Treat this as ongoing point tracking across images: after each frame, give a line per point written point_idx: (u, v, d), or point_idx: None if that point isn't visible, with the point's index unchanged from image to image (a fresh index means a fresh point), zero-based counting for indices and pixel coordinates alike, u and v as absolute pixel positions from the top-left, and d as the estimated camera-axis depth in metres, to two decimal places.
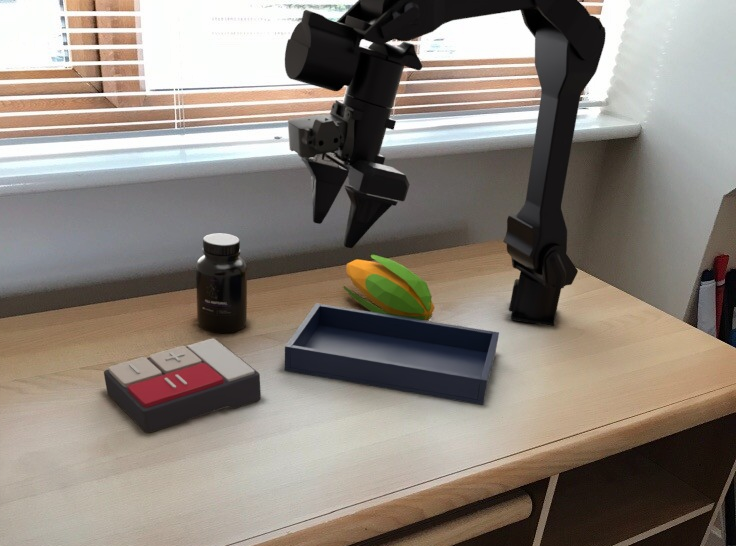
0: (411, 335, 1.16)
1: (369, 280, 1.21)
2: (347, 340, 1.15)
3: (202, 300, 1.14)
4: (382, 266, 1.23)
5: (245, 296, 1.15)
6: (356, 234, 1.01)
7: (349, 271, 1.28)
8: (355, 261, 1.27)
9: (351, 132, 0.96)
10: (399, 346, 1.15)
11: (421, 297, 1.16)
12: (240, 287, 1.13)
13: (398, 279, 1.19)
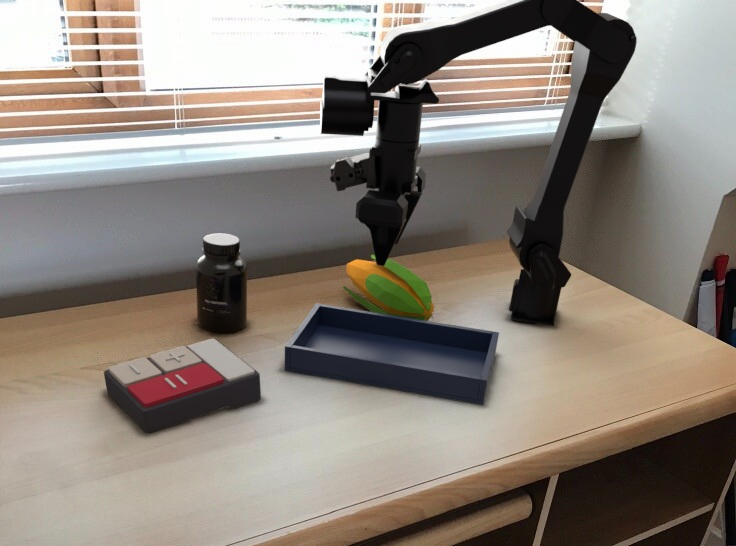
0: (411, 335, 1.16)
1: (369, 280, 1.21)
2: (347, 340, 1.15)
3: (202, 300, 1.14)
4: (382, 266, 1.23)
5: (245, 296, 1.15)
6: (382, 254, 1.15)
7: (349, 271, 1.28)
8: (355, 261, 1.27)
9: (372, 166, 1.11)
10: (399, 346, 1.15)
11: (421, 297, 1.16)
12: (240, 287, 1.13)
13: (398, 279, 1.19)
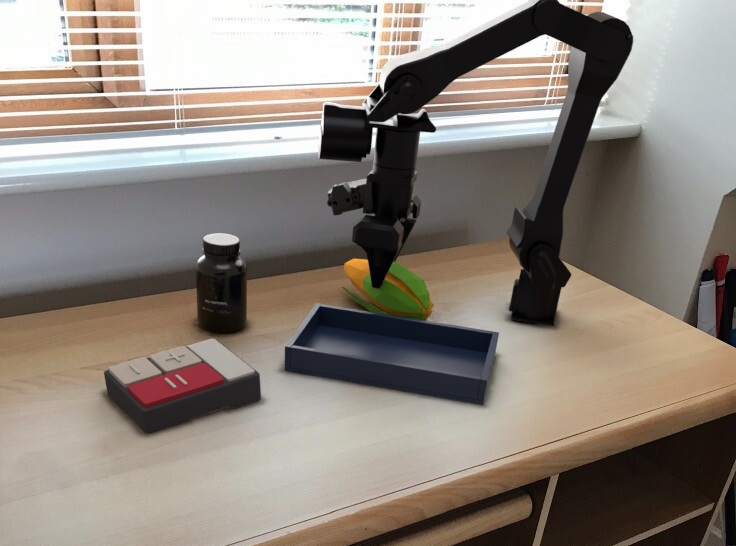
0: (411, 335, 1.16)
1: (366, 281, 1.21)
2: (347, 340, 1.15)
3: (202, 300, 1.14)
4: None
5: (245, 296, 1.15)
6: (377, 276, 1.17)
7: (347, 271, 1.27)
8: (352, 260, 1.27)
9: (368, 192, 1.13)
10: (399, 346, 1.15)
11: (419, 296, 1.16)
12: (240, 287, 1.13)
13: (395, 279, 1.19)
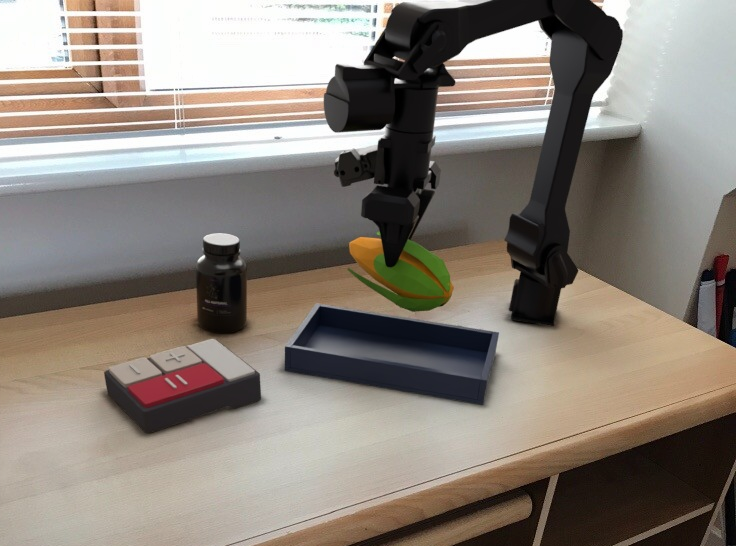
0: (411, 335, 1.16)
1: (378, 261, 1.08)
2: (347, 340, 1.15)
3: (202, 300, 1.14)
4: None
5: (245, 296, 1.15)
6: (392, 254, 1.05)
7: (352, 251, 1.15)
8: (359, 239, 1.14)
9: (380, 160, 1.00)
10: (399, 346, 1.15)
11: (439, 277, 1.04)
12: (240, 287, 1.13)
13: (411, 258, 1.07)
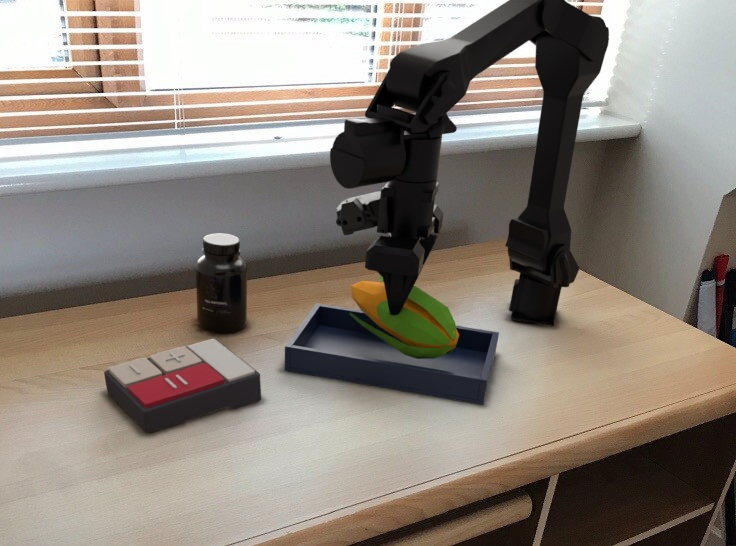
0: None
1: (381, 308, 1.06)
2: (347, 340, 1.15)
3: (202, 300, 1.14)
4: None
5: (245, 296, 1.15)
6: (396, 303, 1.03)
7: (354, 296, 1.13)
8: (360, 283, 1.12)
9: (383, 209, 0.98)
10: None
11: (444, 326, 1.02)
12: (240, 287, 1.13)
13: (415, 306, 1.05)
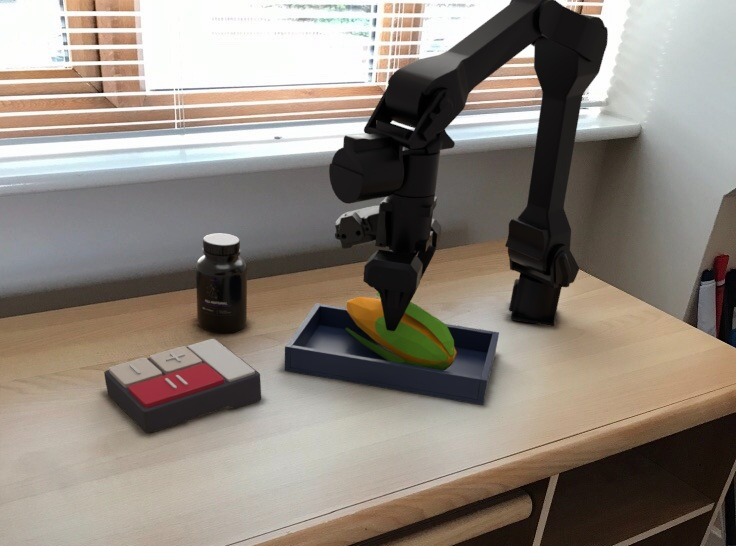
0: None
1: (380, 323, 1.08)
2: (347, 340, 1.15)
3: (202, 300, 1.14)
4: None
5: (245, 296, 1.15)
6: (392, 318, 1.03)
7: (351, 311, 1.14)
8: (357, 299, 1.14)
9: (382, 223, 0.99)
10: None
11: (443, 342, 1.04)
12: (240, 287, 1.13)
13: (414, 322, 1.06)
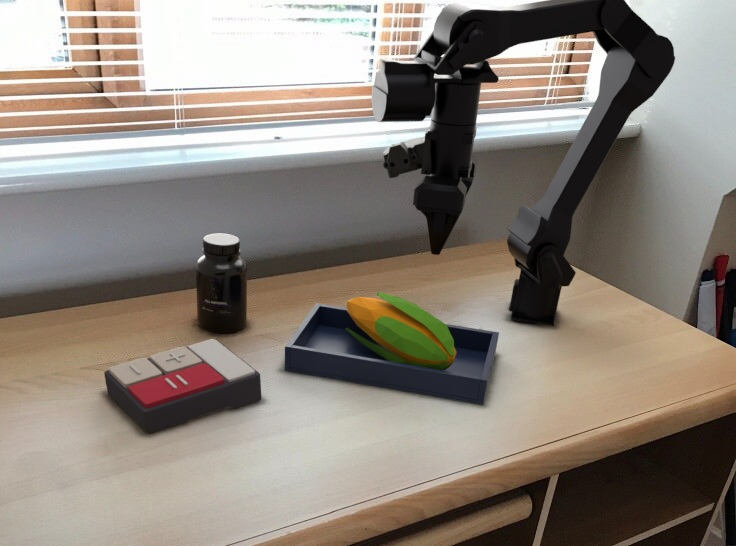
0: None
1: (380, 323, 1.08)
2: (347, 340, 1.15)
3: (202, 300, 1.14)
4: (391, 305, 1.10)
5: (245, 296, 1.15)
6: (437, 242, 1.11)
7: (351, 311, 1.14)
8: (357, 299, 1.14)
9: (427, 151, 1.07)
10: None
11: (443, 342, 1.04)
12: (240, 287, 1.13)
13: (414, 322, 1.06)
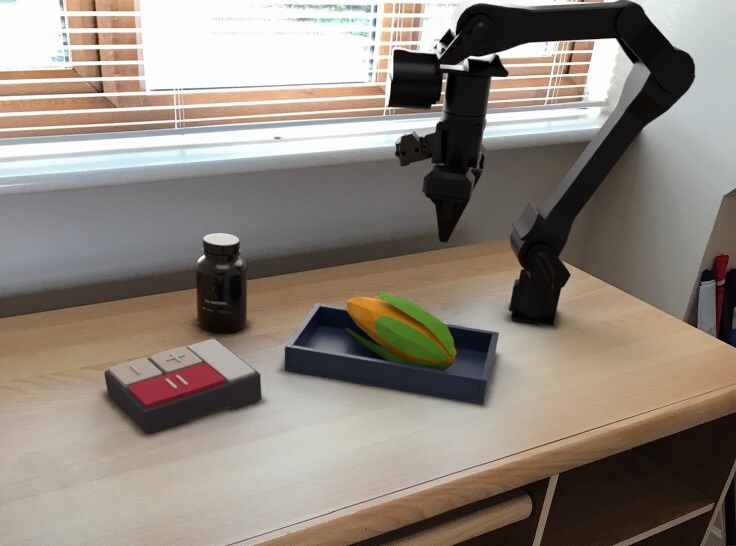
0: None
1: (380, 323, 1.08)
2: (347, 340, 1.15)
3: (202, 300, 1.14)
4: (391, 305, 1.10)
5: (245, 296, 1.15)
6: (445, 230, 1.14)
7: (351, 311, 1.14)
8: (357, 299, 1.14)
9: (438, 141, 1.10)
10: None
11: (443, 342, 1.04)
12: (240, 287, 1.13)
13: (414, 322, 1.06)
